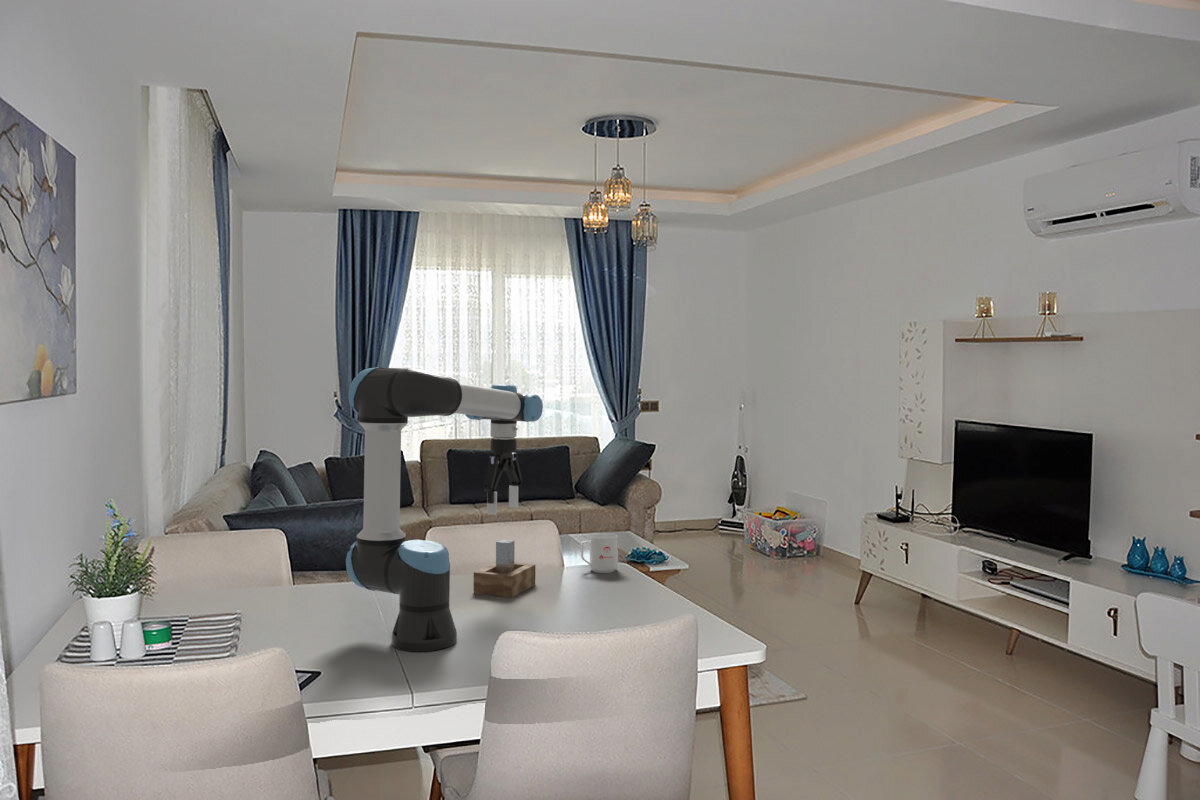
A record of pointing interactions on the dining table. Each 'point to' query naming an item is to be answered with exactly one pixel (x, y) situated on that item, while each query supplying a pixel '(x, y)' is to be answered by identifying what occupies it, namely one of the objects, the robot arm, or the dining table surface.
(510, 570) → the bracket
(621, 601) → the dining table surface
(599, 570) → the mug
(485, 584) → the box
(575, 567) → the dining table surface
